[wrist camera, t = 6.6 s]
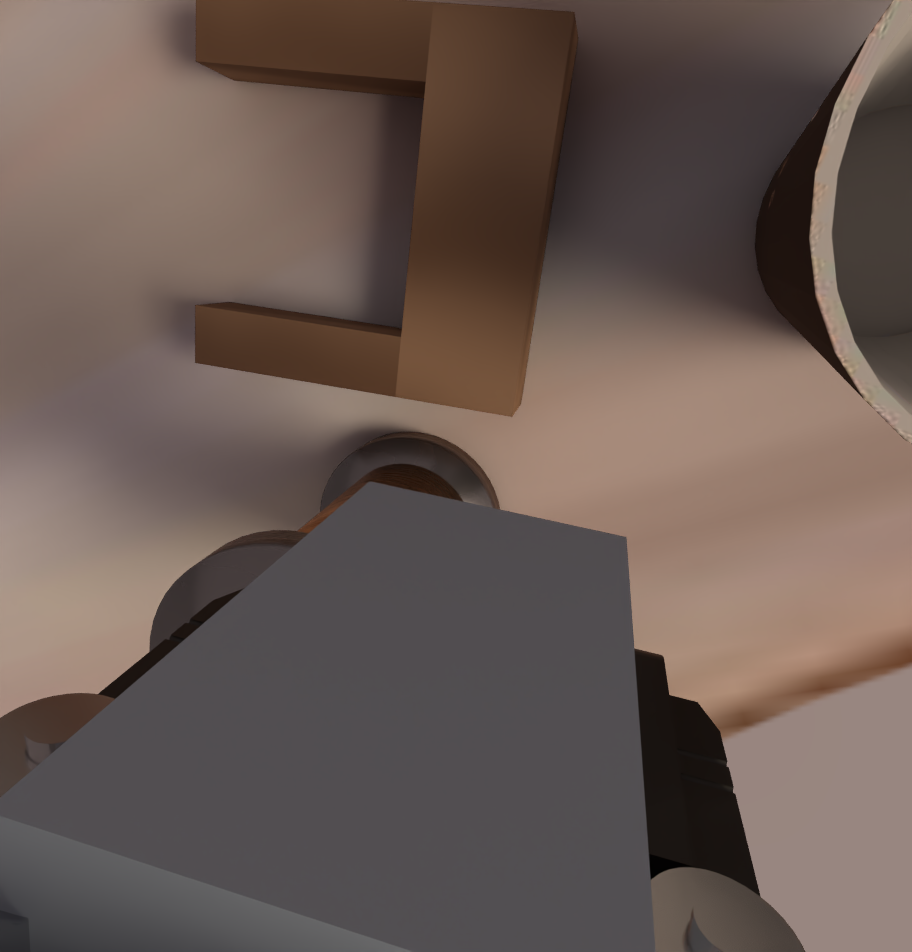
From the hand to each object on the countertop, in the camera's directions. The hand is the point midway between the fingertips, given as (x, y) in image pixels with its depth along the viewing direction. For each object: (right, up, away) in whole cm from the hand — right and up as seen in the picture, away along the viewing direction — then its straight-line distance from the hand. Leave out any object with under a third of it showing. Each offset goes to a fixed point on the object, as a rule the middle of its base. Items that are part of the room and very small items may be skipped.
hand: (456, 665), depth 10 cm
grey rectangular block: (0, 0, +1) cm, 1 cm away
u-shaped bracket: (-2, +11, +11) cm, 15 cm away
